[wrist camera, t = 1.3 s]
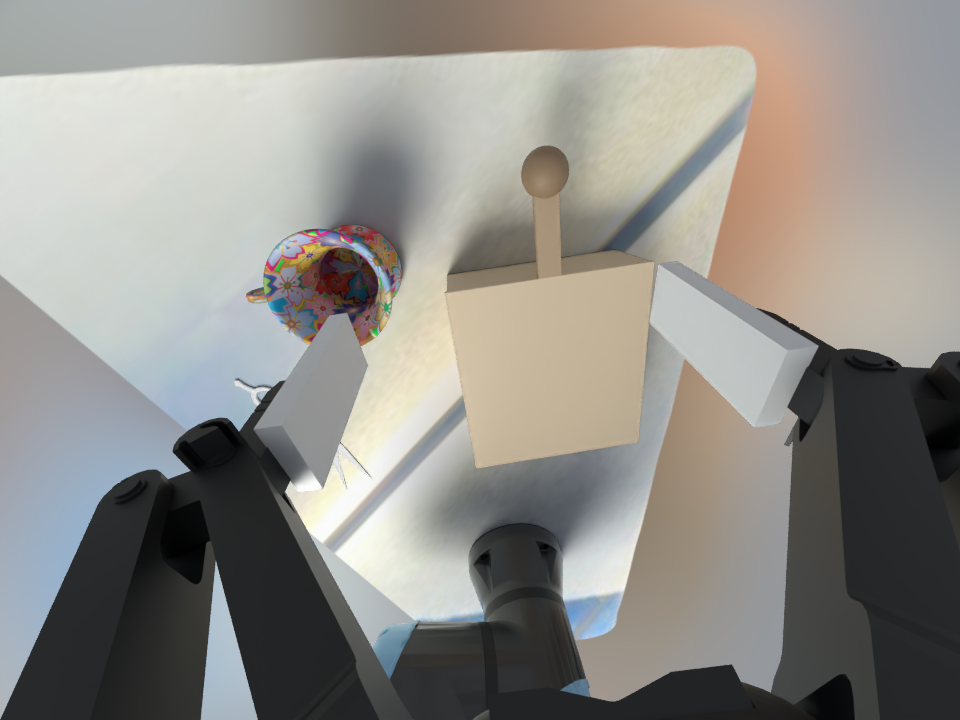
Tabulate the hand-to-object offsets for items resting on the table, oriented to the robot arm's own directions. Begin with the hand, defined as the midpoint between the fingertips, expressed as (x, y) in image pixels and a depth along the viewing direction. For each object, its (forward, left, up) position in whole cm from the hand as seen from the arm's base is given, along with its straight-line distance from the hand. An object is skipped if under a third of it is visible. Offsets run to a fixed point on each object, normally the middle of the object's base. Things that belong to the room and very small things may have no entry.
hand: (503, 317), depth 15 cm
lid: (-8, -6, -17) cm, 20 cm away
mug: (0, +13, -23) cm, 26 cm away
